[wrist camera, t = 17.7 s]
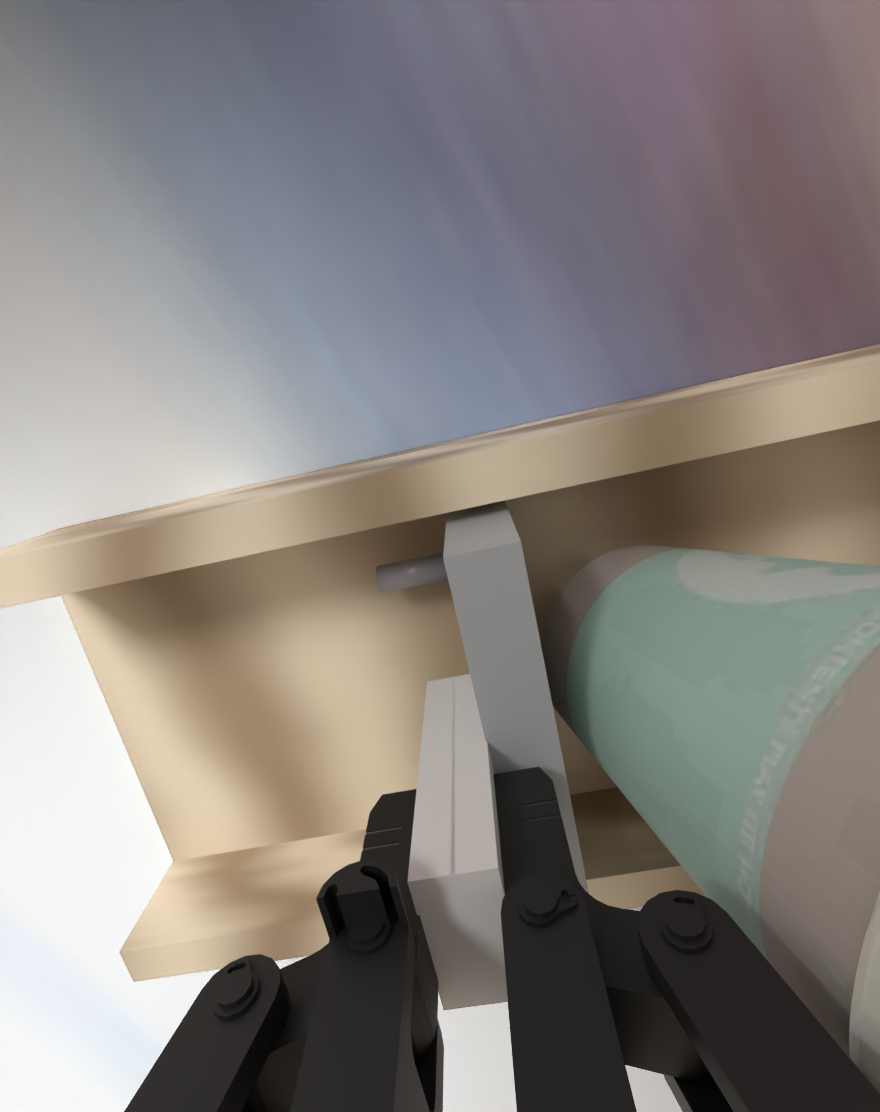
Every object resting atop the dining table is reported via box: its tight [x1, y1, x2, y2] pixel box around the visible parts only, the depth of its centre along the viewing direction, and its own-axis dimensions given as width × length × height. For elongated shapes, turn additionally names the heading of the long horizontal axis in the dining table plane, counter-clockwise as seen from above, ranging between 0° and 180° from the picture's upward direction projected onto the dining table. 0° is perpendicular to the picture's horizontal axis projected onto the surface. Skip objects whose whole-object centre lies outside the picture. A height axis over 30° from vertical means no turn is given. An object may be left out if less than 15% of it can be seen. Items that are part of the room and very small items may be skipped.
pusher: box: [376, 500, 589, 894], centre depth 16 cm, size 4×10×6 cm, turn 13°
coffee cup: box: [541, 545, 880, 1093], centre depth 12 cm, size 8×8×12 cm
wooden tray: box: [0, 344, 880, 982], centre depth 16 cm, size 35×13×6 cm, turn 103°
